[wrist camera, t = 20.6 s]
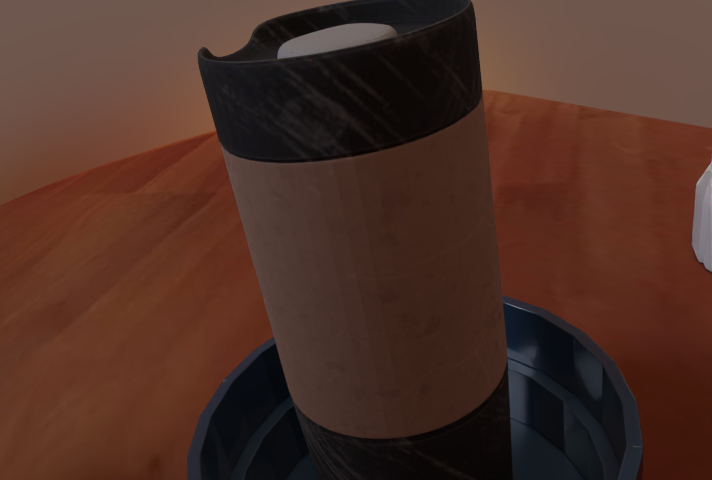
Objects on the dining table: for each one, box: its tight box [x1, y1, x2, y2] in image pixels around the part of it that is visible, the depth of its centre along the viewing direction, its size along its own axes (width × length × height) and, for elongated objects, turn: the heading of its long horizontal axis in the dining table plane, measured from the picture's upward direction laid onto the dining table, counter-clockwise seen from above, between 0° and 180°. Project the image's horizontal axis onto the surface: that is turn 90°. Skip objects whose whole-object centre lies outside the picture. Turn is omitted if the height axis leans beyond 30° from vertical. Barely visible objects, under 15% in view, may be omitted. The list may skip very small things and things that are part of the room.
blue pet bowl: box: [187, 295, 644, 480], centre depth 25 cm, size 16×16×7 cm
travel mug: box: [198, 0, 513, 480], centre depth 22 cm, size 8×8×20 cm
